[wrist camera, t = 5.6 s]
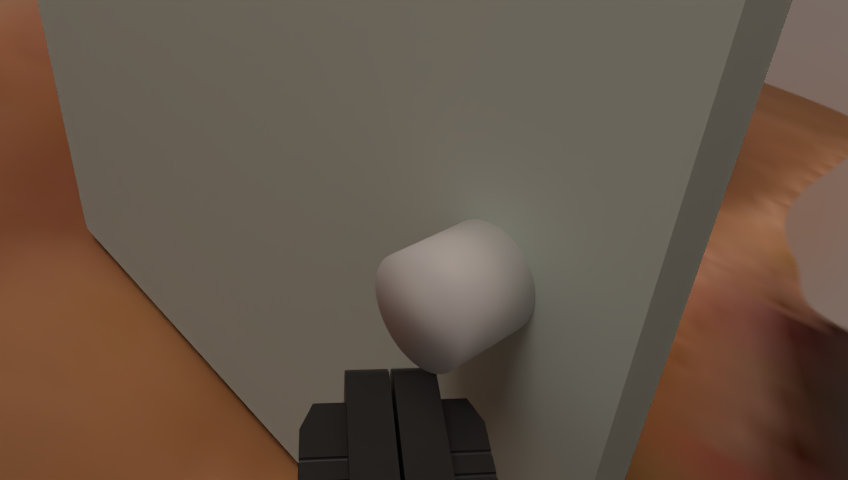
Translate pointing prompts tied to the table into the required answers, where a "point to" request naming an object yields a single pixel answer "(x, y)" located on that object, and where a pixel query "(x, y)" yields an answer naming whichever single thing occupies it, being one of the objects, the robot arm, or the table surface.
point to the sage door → (418, 193)
